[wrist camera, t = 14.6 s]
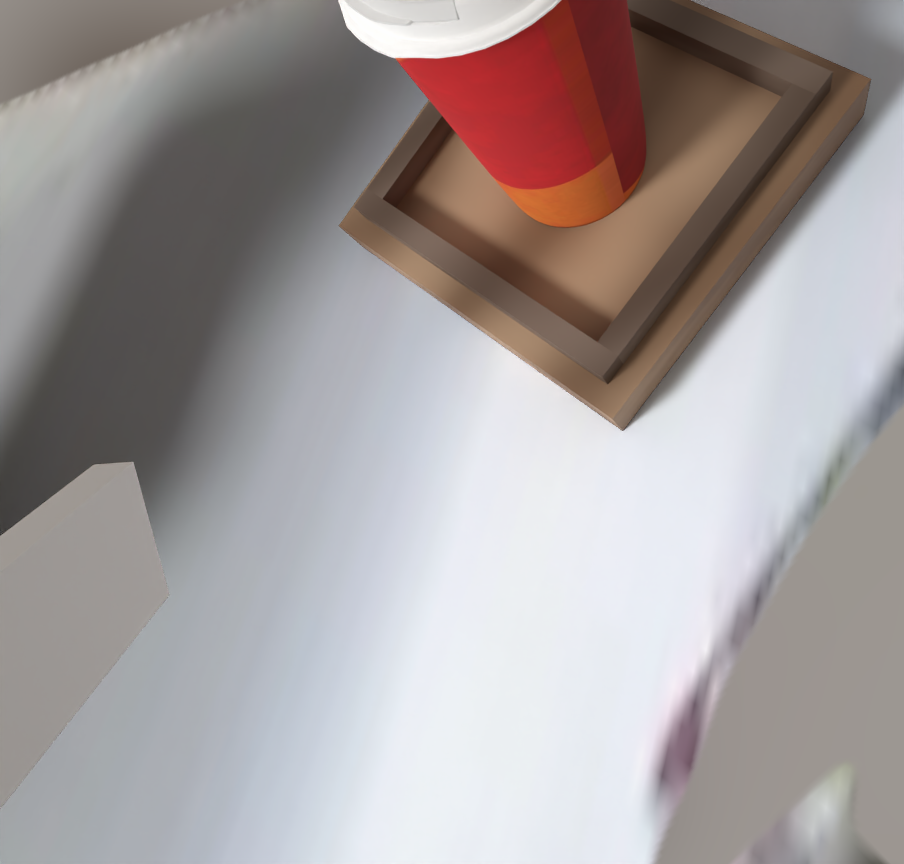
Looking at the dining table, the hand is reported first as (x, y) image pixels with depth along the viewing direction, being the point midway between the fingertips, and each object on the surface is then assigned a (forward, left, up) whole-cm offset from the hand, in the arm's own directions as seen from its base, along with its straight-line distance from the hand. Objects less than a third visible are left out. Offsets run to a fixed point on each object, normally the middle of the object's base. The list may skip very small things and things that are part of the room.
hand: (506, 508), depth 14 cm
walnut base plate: (-12, +11, -20) cm, 26 cm away
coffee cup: (-12, +11, -18) cm, 25 cm away
